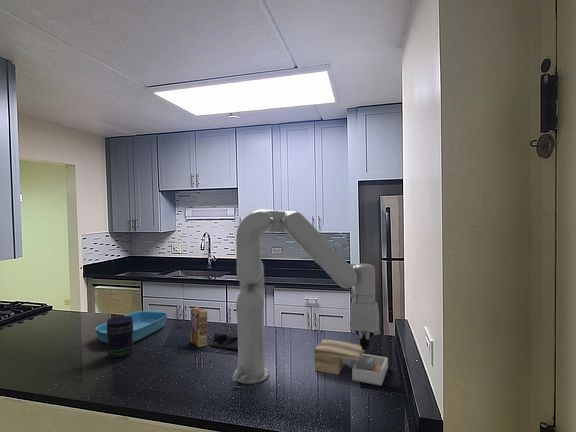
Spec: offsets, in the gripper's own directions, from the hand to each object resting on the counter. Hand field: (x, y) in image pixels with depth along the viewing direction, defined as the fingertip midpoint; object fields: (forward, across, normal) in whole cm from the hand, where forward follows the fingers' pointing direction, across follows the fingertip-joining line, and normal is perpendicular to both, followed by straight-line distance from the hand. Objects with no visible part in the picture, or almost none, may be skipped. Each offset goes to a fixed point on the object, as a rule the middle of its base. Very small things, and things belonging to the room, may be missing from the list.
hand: (364, 348), depth 125 cm
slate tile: (+4, 0, 0) cm, 4 cm away
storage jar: (+9, -96, -24) cm, 99 cm away
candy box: (+9, -74, -1) cm, 75 cm away
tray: (+9, +2, 0) cm, 9 cm away
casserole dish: (+9, -112, -3) cm, 112 cm away
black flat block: (+10, -58, +5) cm, 59 cm away
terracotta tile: (+6, +3, 0) cm, 7 cm away
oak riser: (+9, -9, 0) cm, 13 cm away
